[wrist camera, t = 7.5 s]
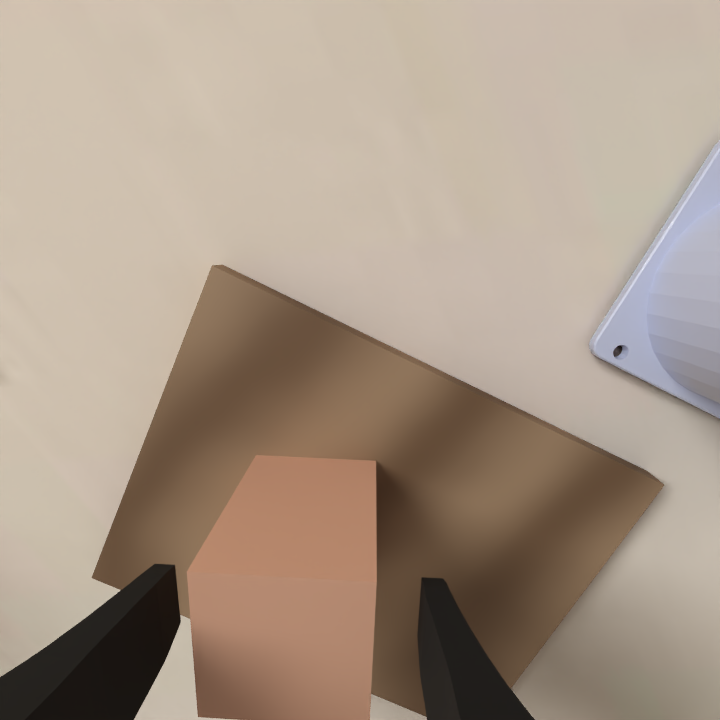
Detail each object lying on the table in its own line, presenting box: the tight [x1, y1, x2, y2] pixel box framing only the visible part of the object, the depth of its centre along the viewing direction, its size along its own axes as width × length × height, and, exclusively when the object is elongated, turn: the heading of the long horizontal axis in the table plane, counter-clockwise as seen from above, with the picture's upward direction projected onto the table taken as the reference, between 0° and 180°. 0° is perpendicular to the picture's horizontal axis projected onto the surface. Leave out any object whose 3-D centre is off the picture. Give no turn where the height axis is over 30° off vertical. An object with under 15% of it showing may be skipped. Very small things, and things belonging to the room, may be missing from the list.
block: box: [187, 455, 377, 720], centre depth 13 cm, size 4×4×6 cm
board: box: [92, 265, 664, 717], centre depth 17 cm, size 18×14×1 cm
